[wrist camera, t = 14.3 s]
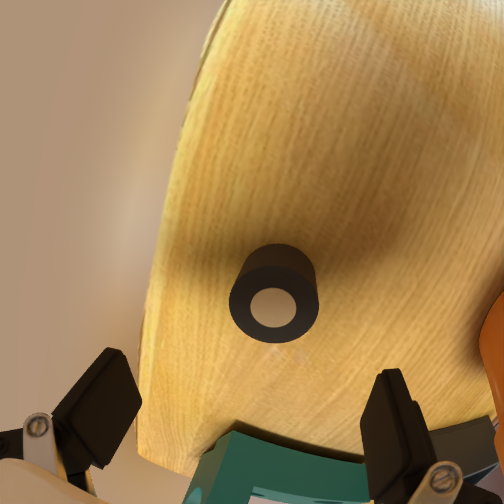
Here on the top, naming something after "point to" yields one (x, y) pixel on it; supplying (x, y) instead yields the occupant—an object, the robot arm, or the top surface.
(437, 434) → the chest
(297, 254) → the tape roll
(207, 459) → the teal l-shaped bracket
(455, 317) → the top surface
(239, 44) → the top surface
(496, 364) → the flower pot
